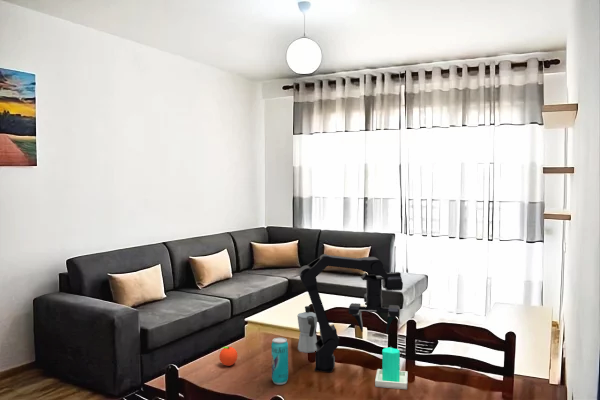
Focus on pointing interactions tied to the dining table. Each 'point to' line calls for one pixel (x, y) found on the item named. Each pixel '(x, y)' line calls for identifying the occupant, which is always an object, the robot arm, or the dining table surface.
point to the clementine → (228, 356)
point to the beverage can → (279, 361)
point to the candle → (391, 364)
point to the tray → (390, 384)
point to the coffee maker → (307, 331)
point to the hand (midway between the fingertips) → (374, 332)
